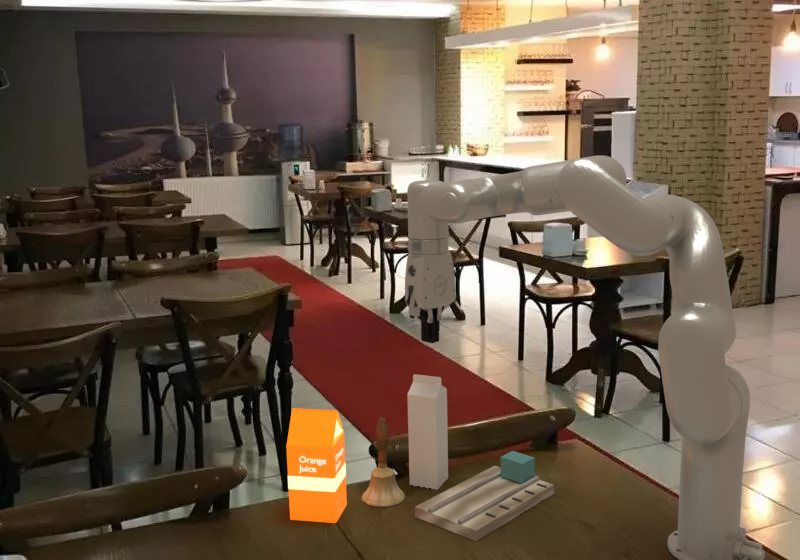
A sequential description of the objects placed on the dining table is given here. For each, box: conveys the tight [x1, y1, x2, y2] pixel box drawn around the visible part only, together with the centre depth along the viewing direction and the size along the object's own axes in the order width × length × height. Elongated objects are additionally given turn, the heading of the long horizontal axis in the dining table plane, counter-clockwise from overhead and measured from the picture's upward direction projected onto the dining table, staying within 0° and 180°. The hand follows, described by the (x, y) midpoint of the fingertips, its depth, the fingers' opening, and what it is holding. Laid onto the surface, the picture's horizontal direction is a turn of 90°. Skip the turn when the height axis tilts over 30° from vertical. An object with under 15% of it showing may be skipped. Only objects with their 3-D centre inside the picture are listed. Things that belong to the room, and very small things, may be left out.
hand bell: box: [361, 417, 406, 508], centre depth 162 cm, size 8×8×16 cm
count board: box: [414, 465, 555, 542], centre depth 158 cm, size 14×24×3 cm, turn 137°
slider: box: [499, 450, 536, 484], centre depth 165 cm, size 5×4×4 cm
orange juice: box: [285, 407, 348, 524], centre depth 156 cm, size 8×9×20 cm
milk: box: [407, 373, 449, 491], centre depth 167 cm, size 6×6×22 cm
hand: (430, 341), depth 163 cm, fingers closed
